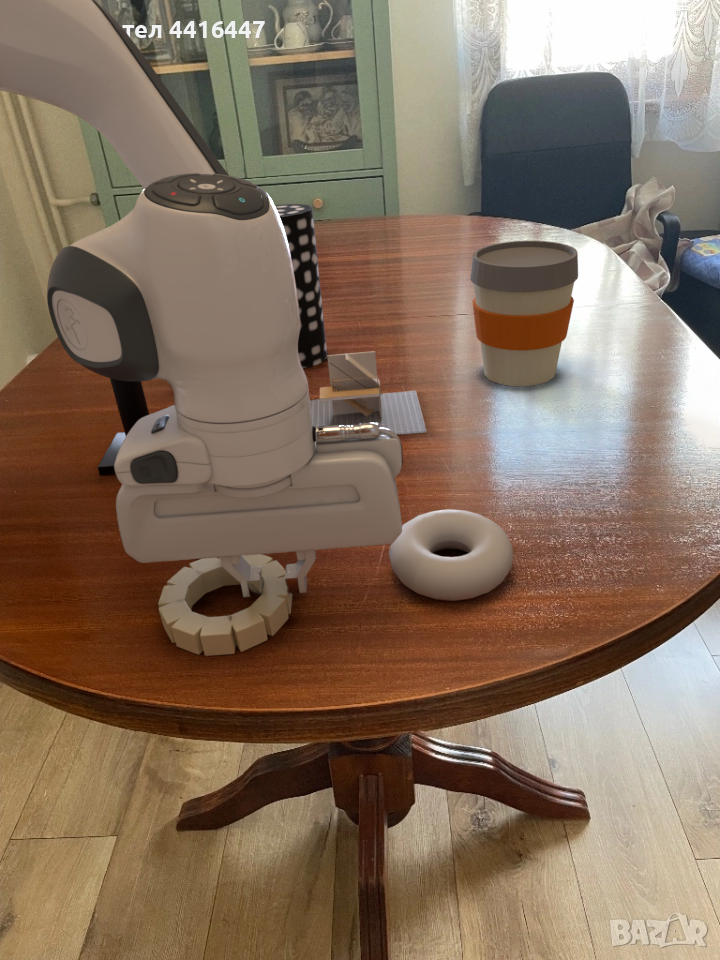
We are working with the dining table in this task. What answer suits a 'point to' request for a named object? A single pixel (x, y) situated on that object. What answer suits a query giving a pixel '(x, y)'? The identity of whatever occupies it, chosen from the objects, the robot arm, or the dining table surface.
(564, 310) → the reusable coffee cup
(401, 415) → the architectural model
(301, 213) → the spotted tube
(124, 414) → the post
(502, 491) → the dining table surface
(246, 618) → the segmented ring
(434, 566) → the donut
